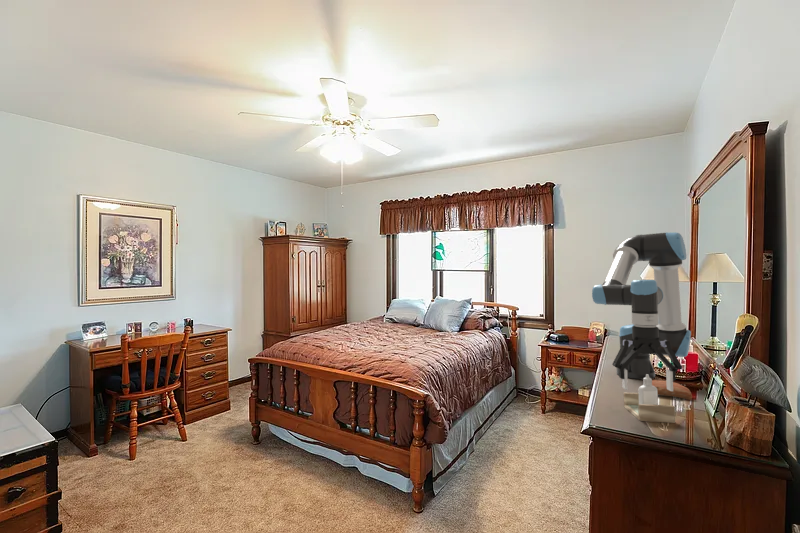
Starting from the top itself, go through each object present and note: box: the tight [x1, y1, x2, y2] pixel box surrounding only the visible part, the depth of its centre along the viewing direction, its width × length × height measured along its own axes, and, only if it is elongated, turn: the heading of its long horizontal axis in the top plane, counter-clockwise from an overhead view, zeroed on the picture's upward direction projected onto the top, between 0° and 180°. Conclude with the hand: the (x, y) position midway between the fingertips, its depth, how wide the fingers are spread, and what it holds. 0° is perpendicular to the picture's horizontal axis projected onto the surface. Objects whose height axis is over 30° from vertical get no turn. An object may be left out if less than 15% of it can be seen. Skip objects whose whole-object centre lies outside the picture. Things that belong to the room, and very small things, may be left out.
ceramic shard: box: [652, 379, 693, 401], centre depth 149 cm, size 15×6×15 cm
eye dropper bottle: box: [638, 374, 659, 405], centre depth 127 cm, size 4×6×12 cm
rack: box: [623, 392, 676, 424], centre depth 127 cm, size 13×10×5 cm
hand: (647, 389), depth 127 cm, fingers open, 13 cm apart
